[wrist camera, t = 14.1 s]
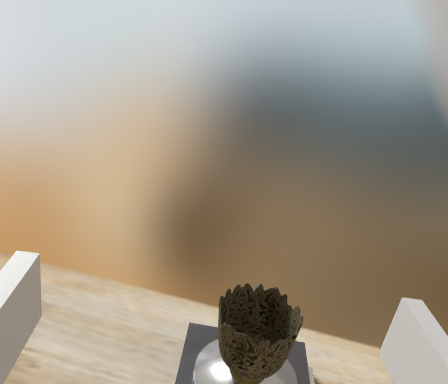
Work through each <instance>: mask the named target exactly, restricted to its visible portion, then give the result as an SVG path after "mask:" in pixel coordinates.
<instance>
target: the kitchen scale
mask: <svg viewBox="0 0 448 384" xmlns="http://www.w3.org/2000/svg"><path fill="white" fill-rule="evenodd" d="M175 384H238V383H237V382H236V381H235V380H234V379H233V378H232V377H231V375H230V372H229V368H228V367H227V365H226V364H225V362H224V361H223V359H222V357H221V354H220V350H219V343H218V328H217V327H212V326H206V325H200V324H194V323H189V327H188V331H187V336H186V340H185V344H184V348H183V353H182V357H181V361H180V365H179V370H178V374H177V378H176V382H175ZM260 384H315V382H314V376H313V369H312V367H308V364H307V357H306V350H305V343H303V342H298V341H295V342H294V344H293V347H292V349H291V351H290V353H289V355H288V357H287V359H286V361H285V363H284V364H283V365H282V367H281V368H280V369H279V370H278V371H277V372H276V373H275V374H273V375H272V376H270V377H268V378H265V379H264V380H263V381H262V382H261V383H260Z"/></svg>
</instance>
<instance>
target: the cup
mask: <svg viewBox="0 0 448 384" xmlns="http://www.w3.org/2000/svg"><path fill="white" fill-rule="evenodd" d="M302 322H303V316H302V315H300V308H299V306H297V307H295V308H294V310H292V308H291V306H289V305H288V304H287V295H286V294H284V295H282V296H281V295H280V292H279V289H278V288H277V287H273V288H270V289H268V290H266V291H264V290H263V286H262V284H260V285H258V286H257V287H256V290H255V291H254V292H253V289H252V288H251V286H250V285H249V284H248V283H247V284H245V286H244V287H241V286H240V285H237V286H236V287H235V289H234V291H233V293H232V294H231V290H230V289H228V290H227V292H226V296H225V297H223V296H221V297H220V300H219V320H218V343H219V350H220V354H221V357H222V359H223V361H224V362H225V364H226V365H227V367H228V368H229V372H230V375H231V377H232V378H233V379H234V380H235V381H236V382H237V383H238V384H260V383H261V382H262V381H263V380H264V379H265V378H268V377H270V376H272V375H273V374H275V373H276V372H277V371H278V370H279V369H280V368H281V367H282V365H283V364H284V363H285V361H286V359H287V357H288V355H289V353H290V351H291V349H292V347H293V344H294V342H295V340H296V338H297V335H298V333H299V331H300V328H301V326H302Z"/></svg>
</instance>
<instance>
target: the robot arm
mask: <svg viewBox="0 0 448 384" xmlns="http://www.w3.org/2000/svg"><path fill="white" fill-rule="evenodd" d="M41 316H42V313H41V278H40V254H39V253H31V252H23V251H16V253H15V254H14V255H13V256H12V257H11V259H10V260H9V261H8V262H7V264H6V265H5V266H4V267H3V268H2V270H1V271H0V384H3V383H4V381H5V380H6V378H7V376H8V374H9V373H10V371H11V369H12V367H13V366H14V364H15V362H16V360H17V358H18V357H19V355H20V353H21V351H22V350H23V348H24V346H25V344H26V343H27V341H28V339H29V337H30V335H31V334H32V332H33V330H34V328H35V327H36V325H37V323H38V321H39V320H40V318H41ZM379 354H380V356H381V358H382V360H383V362H384V364H385V366H386V368H387V371H388V373H389V375H390V377H391V379H392V381H393V383H394V384H448V336H447V335H446V334H445V332H444V331H443V329H442V328H441V326H440V325H439V324H438V322H437V321H436V319H435V318H434V317H433V315H432V314H431V312H430V311H429V309H428V308H427V307H426V305H425V304H424V302H423V301H422V300H417V299H409V298H402V300H401V302H400V304H399V307H398V309H397V312H396V314H395V316H394V319H393V321H392V323H391V326H390V328H389V330H388V333H387V335H386V338H385V340H384V342H383V345H382V347H381V349H380V352H379Z"/></svg>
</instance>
